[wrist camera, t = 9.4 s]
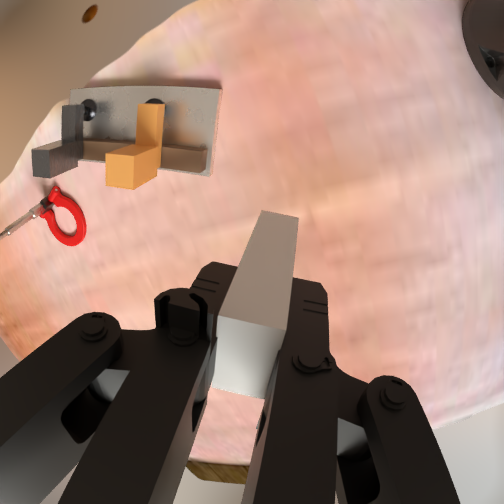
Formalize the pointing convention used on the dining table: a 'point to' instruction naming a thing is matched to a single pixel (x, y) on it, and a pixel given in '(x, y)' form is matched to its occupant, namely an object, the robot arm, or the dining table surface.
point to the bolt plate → (174, 125)
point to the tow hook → (53, 218)
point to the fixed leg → (62, 145)
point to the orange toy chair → (138, 151)
